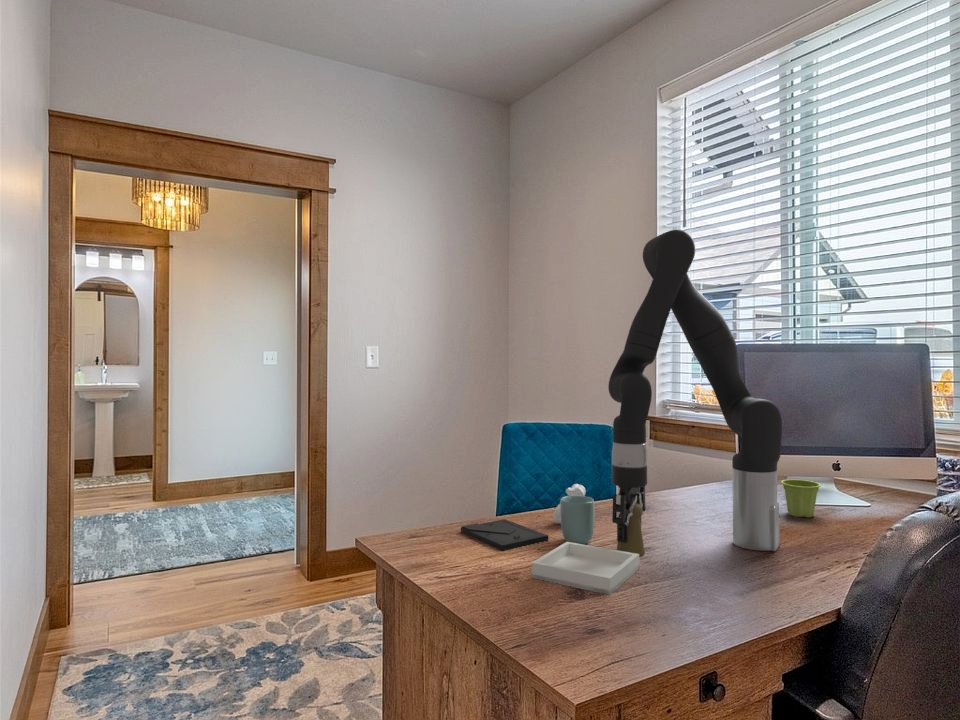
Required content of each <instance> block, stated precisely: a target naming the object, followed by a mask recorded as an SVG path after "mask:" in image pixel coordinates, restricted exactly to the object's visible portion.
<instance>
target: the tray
mask: <svg viewBox="0 0 960 720" xmlns="http://www.w3.org/2000/svg"><path fill="white" fill-rule="evenodd" d="M640 562H641V561H640V557H639V554H636V553H630V552H624V551H618V550H617V549H611V548H606V547H600V546H594V545H588V544H578V543H572V542H567V541H565V542H564V543H562V544H560V545H559V546H558V547H555V548H554V549H552V550H550V551H549V552H547V553H545V554H543V555H542V556H541V557H539V558H538V559H535V560H534V561H532V562H531V579H533V578H534V580H538V579H539V580H540V581H543V580H544V582H547V581H549V582H548V583H552V582H553V584H556V583H559V584H558V585H561V584H563V585H562V586H567V587H570V586H571V587H570V588H577V589H581V590H585V591H590V592H595V593H599V594H602V595H603V594H604V595H609V596H611V595H612V594H613V593H615V591H617V590H618V589H619V588H620V587H622V586H623V585H624V584H625V583H626V582H627V581H628V580H629V579H630V578H631V577H632V576H633V575H634V573H635V572H636V571H637V570H638V571H639V570H640ZM638 571H637V572H638ZM637 572H636V573H637ZM636 573H635V574H636ZM627 579H628V580H627ZM626 580H627V581H626ZM625 581H626V582H625ZM624 582H625V583H624Z"/></svg>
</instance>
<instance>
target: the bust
mask: <svg viewBox="0 0 960 720" xmlns="http://www.w3.org/2000/svg"><path fill="white" fill-rule="evenodd" d="M586 492H587V491H586V488H585V487H584V486H583V485H582V484H578V483H574V484H573V485H571V487H567V488H566V489H565V493H566V494H567V496H585V495H586ZM553 520H554V522H555V523H556V524H559V525H560V524H561V515H560V503H559V504H558V505H557V506H556V508H555V510H554V512H553Z"/></svg>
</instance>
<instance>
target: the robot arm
mask: <svg viewBox="0 0 960 720" xmlns="http://www.w3.org/2000/svg"><path fill="white" fill-rule="evenodd" d="M695 254H696V244H695V241H694V239H693V237H692V236H691V234H689V233H688V232H686V231H684V230H682V229H672V230H668V231H666V232H663V233H661V234H659V235H657V236H655V237H653V238H651V239H650V240H649V241H648V242H646V243H645V245H644V247H643V251H642V260H643V264H644V267H645V268H646V271H647V272H648V273H649V275H650V276H651V278H652V280H651V284H650V287H649V288H648V291H647V293H646V295H645V297H644V299H643V301H642V303H641V304H640V306H639V308H638V310H637V312H636V314H635V316H634V318H633V320H632V322H631V325H630V327H629V330H628V335H627V337H626V341H625V343H624V344H625V345H624V349H623V351H622V353H621V355H620V356H619V357H618V360H617V362H616V364H615V366H614V368H613V369H612V372H611V373H610V377H609V381H608V386H607V387H608V393H609V395H610V396H609V397H610V398H612V400H613V401H615V402H617V403H620V409H619V410H620V411H619V415H617V416H615V418H614V419H613V423H612V451H611V483H612V484H613V485H614V486H617V487H618V488H619V491H618V494H616V493H614V494H613V495H612V516H611V517H612V520H611V521H612V523H613V524H616V540H617V543H618V542H623V543H626V542H628V523H629V518H630V516H632V515H633V510H634V506H635V504H636V503H638V504H640V505H641V507H642V516H643V515H644V512H645V511H646V486H647V485H648V450H647V426H646V425H647V424H646V423H647V420H648V417H649V413H650V407H651V402H652V394H653V392H652V384H651V382H650V379H648V377H647V376H646V375H644V374H643V373H644V371H645V369H646V368H647V366H649V365H651V364H652V363H654V361H655V359H656V356H657V354H658V351H659V347H660V343H661V340H662V336H663V334H664V330H665V326H666V323H667V320H668V318H669V315H670V313H671V311H672V313H673V315H674V318H675V319H676V321H677V323H678V325H679V326H680V328H681V331H682V333H683V334H684V337H685V339H686V341H687V343H688V345H689V346H690V349H691V351H692V352H693V355H694V357H695V358H696V360H697V362H698V363H699V365H700V367H701V369H702V371H703V373H704V375H705V377H706V379H707V380H708V383H709V384H710V386H711V388H712V390H713V392H714V395H715V397H716V401H717V403H718V405H719V408H720V410H721V412H722V416H723V418H724V420H725V423H726V425H727V427H728V429H730V430H731V431H732V432H733V433H734V434H736V436H739V437H741V445H740V447H741V448H740V451H739V452H738V453H735V454H734V455H733V456H732V459H731V460H732V461H731V462H732V465H731V466H732V468H731V469H732V543H733V544H734V545H735V546H736V547H740V548H743V549H747V550H751V551H752V550H753V551H763V552H765V551H767V552H768V551H770V552H771V551H772V552H776V551H777V550H778V547H779V546H780V503H779V502H778V462H779V461H780V458H781V454H782V440H783V439H782V438H783V437H782V436H783V435H782V434H783V422H782V421H783V420H782V419H783V418H782V415H781V412H780V409H779V408H778V406H777V404H775V403H774V402H773V401H771V400H769V399H765V398H764V399H763V398H757V397H756V398H755V397H753V395H752V394H751V392H750V390H749V388H748V387H747V386H746V384H745V381H744V380H743V378H742V375H741V372H740V368H739V356H738V347H737V342H736V339H735V336H734V335H733V332H732V331H731V329H730V327H729V324H728V323H727V321H726V320H725V318H724V317H723V315H722V313H721V312H720V311H719V309H718V308H716V306H715V305H714V304H713V303H711V302H710V301H709V300H708V299H707V297H705V296H704V295H703V294H702V293H701V292H700V291H699V290H698V289H697V287H696V286H695V284H693V282H692V280H691V278H690V277H689V274H688V271H689V270H690V267H691V265H692V263H693V261H694V258H695ZM626 509H629V510H626ZM642 516H641V517H640V523H641V524H642Z"/></svg>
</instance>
